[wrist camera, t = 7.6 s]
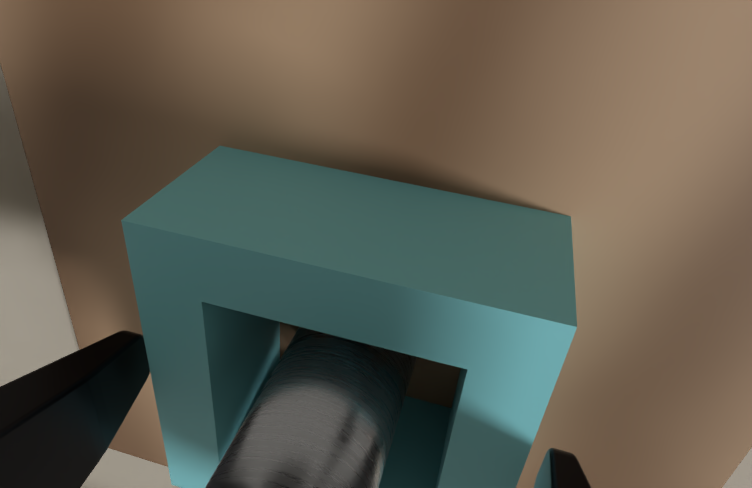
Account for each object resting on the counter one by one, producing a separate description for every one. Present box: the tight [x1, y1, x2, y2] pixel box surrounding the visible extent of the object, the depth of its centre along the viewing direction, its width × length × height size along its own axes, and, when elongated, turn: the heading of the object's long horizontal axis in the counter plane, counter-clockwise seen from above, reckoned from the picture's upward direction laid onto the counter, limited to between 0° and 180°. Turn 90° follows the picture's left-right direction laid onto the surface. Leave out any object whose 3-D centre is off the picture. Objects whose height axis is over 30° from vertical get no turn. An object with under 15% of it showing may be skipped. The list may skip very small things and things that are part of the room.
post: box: [205, 327, 417, 488], centre depth 10 cm, size 2×2×5 cm
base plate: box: [0, 0, 752, 488], centre depth 12 cm, size 16×16×1 cm
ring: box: [121, 146, 577, 488], centre depth 11 cm, size 7×7×3 cm
